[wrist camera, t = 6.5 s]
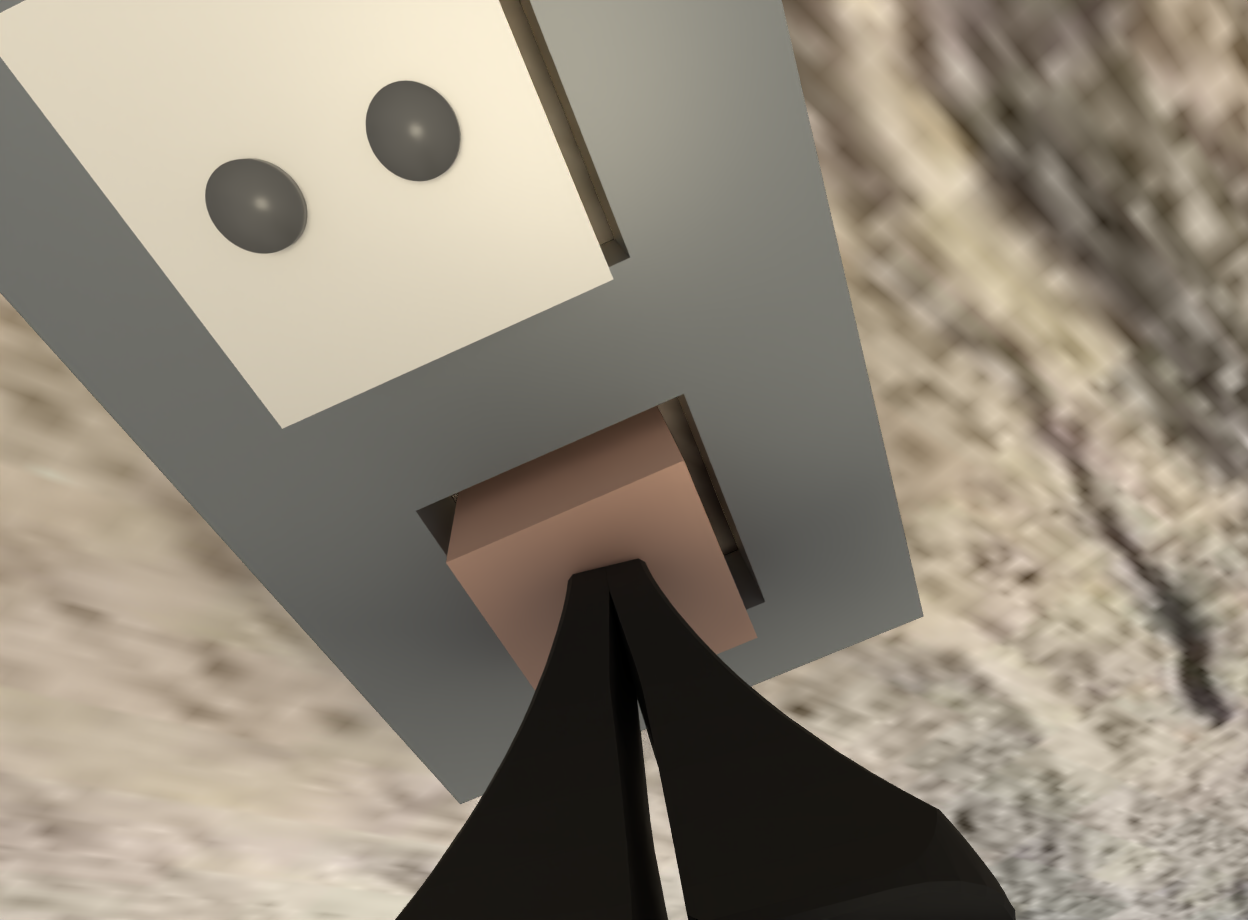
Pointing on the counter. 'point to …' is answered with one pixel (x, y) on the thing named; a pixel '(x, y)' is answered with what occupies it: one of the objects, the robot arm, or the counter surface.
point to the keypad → (524, 377)
